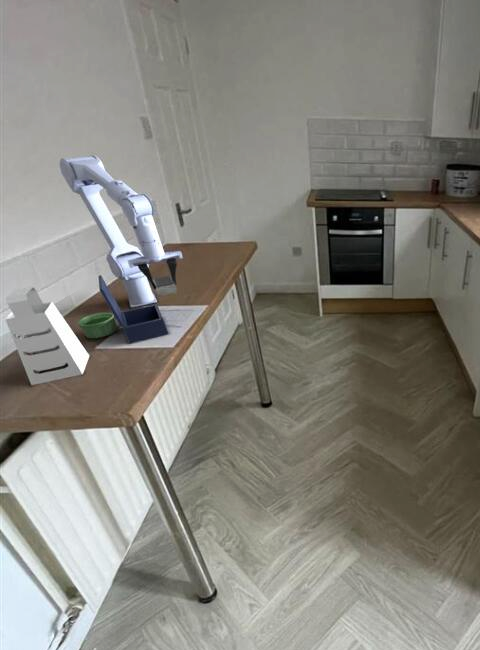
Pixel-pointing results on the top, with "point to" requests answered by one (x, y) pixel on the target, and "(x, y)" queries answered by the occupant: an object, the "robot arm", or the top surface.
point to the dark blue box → (143, 323)
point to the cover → (110, 300)
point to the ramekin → (98, 325)
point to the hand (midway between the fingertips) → (164, 286)
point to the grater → (43, 338)
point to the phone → (165, 286)
